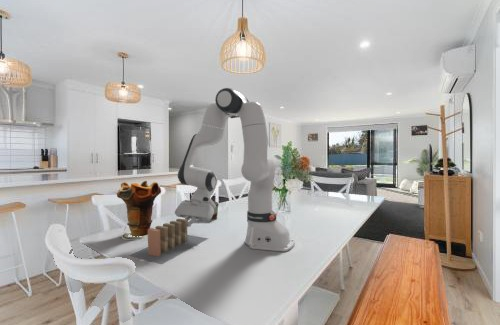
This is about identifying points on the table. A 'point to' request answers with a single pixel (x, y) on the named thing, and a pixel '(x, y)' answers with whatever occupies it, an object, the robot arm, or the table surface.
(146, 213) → the decorative vase
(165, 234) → the domino
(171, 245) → the domino
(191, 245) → the mat
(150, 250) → the domino
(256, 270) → the table surface
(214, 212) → the food container
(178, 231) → the domino
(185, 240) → the domino
